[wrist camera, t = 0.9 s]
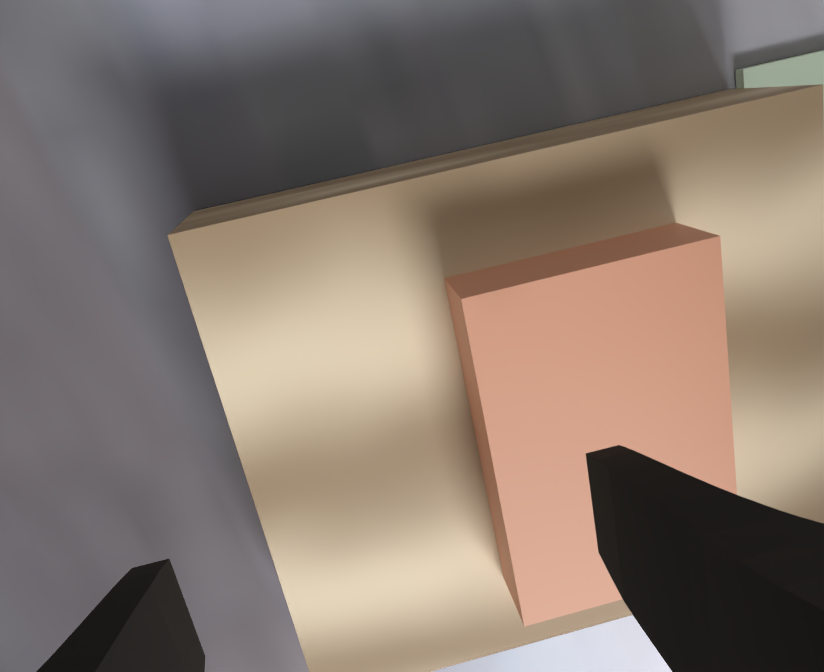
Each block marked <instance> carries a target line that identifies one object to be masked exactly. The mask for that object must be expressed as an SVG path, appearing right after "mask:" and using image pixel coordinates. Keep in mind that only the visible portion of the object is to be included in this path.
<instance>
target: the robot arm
mask: <svg viewBox="0 0 824 672" xmlns="http://www.w3.org/2000/svg"><path fill="white" fill-rule="evenodd" d="M586 461H587V468H588V476H589V484H590V491H591V499H592V507H593V515H594V522H595V530H596V538H597V545H598V552H599V554H600V556H601V558H602V560H603V562H604V564H605V566H606V568H607V570H608V572H609V574H610V576H611V578H612V580H613V582H614V584H615V586H616V588H617V589H618V591H619V593H620V595H621V597H622V599H623V601H624V602H625V604H626V605H627V607H628V608H629V610H630V611H631V613H632V614H633V616H634V617H635V619H636V620H637V621H638V623H639V624H640V626H641V627H642V629H643V630H644V632H645V633H646V635H647V636H648V637H649V639H650V640H651V642H652V643H653V645H654V646H655V647H656V649H657V650H658V652H659V653H660V655H661V656H662V657H663V659H664V660H665V662H666V663H667V665H668V666H669V667H670V669H671V670H672V672H824V523H820V522H817V521H813V520H810V519H806V518H803V517H799V516H796V515H793V514H790V513H787V512H783V511H780V510H777V509H775V508H772V507H769V506H766V505H763V504H761V503H758V502H755V501H752V500H750V499H747V498H744V497H741V496H739V495H736V494H734V493H731V492H729V491H726V490H724V489H721V488H719V487H716V486H714V485H711V484H709V483H707V482H704V481H702V480H700V479H697V478H695V477H693V476H690V475H688V474H686V473H683V472H681V471H679V470H677V469H674V468H672V467H670V466H668V465H665V464H663V463H661V462H659V461H657V460H654V459H652V458H650V457H648V456H645V455H643V454H641V453H638V452H636V451H634V450H631V449H629V448H626V447H624V446H621V445H617V446H613V447H609V448H605V449H601V450H597V451H593V452H589V453H586ZM204 669H205V655H204V652H203V649H202V646H201V644H200V641H199V638H198V636H197V633H196V630H195V627H194V625H193V622H192V619H191V617H190V614H189V611H188V608H187V606H186V603H185V600H184V598H183V595H182V592H181V589H180V587H179V584H178V581H177V579H176V576H175V573H174V570H173V568H172V565H171V562H170V560H169V559H166V560H162V561H158V562H154V563H150V564H146V565H142V566H138V567H134V568H132V569H131V570H130V571H129V572H128V573H127V574H126V575H125V576H124V577H123V578H122V579H121V580H120V581H119V582H118V583H117V584H116V585H115V586H114V587H113V588H112V589H111V591H110V592H109V593H108V594H107V595H106V596H105V597H104V598H103V599H102V601H101V602H100V603H99V604H98V605H97V606H96V607H95V608H94V610H93V611H92V612H91V613H90V614H89V615H88V616H87V617H86V619H85V620H84V621H83V622H82V623H81V624H80V625H79V626H78V627H77V629H76V630H75V631H74V632H73V633H72V634H71V635H70V636H69V637H68V638H67V640H66V641H65V642H64V643H63V644H62V645H61V646H60V647H59V648H58V650H57V651H56V652H55V653H54V654H53V655H52V656H51V657H50V658H49V659H48V660H47V661H46V662H45V663H44V664H43V665H42V666H41V668H40V669H39V670H38V671H37V672H204Z"/></svg>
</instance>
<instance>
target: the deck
mask: <svg viewBox="0 0 824 672" xmlns="http://www.w3.org/2000/svg"><path fill="white" fill-rule="evenodd" d="M672 223H679V224H683V225H686V226H689V227H693V228H696V229H699V230H702V231H706V232H709V233H712V234H716V235H719V236H720V239H721V255H722V270H723V286H724V301H725V317H726V332H727V347H728V363H729V378H730V394H731V409H732V425H733V440H734V455H735V471H736V486H737V495H739V496H741V497H744V498H747V499H750V500H752V501H755V502H758V503H761V504H763V505H766V506H769V507H772V508H775V509H777V510H780V511H783V512H787V513H790V514H793V515H796V516H799V517H803V518H806V519H810V520H813V521H817V522H820V523H824V108H823V84H820V85H800V86H780V87H760V88H739V89H728V90H723V91H719V92H714V93H710V94H706V95H701V96H697V97H693V98H688V99H684V100H679V101H675V102H671V103H666V104H662V105H658V106H653V107H649V108H644V109H640V110H636V111H631V112H627V113H622V114H618V115H614V116H609V117H605V118H601V119H596V120H592V121H587V122H583V123H579V124H574V125H570V126H565V127H561V128H557V129H552V130H548V131H544V132H539V133H535V134H530V135H526V136H522V137H517V138H513V139H509V140H504V141H500V142H495V143H491V144H487V145H482V146H478V147H473V148H469V149H465V150H460V151H456V152H452V153H447V154H443V155H438V156H434V157H430V158H425V159H421V160H416V161H412V162H408V163H403V164H399V165H395V166H390V167H386V168H381V169H377V170H373V171H368V172H364V173H360V174H355V175H351V176H346V177H342V178H338V179H333V180H329V181H324V182H320V183H316V184H311V185H307V186H303V187H298V188H294V189H289V190H285V191H281V192H276V193H272V194H267V195H263V196H259V197H254V198H250V199H246V200H241V201H237V202H232V203H228V204H224V205H219V206H215V207H211V208H206V209H202V210H197V211H193V212H192V213H191V214H190V215H189V216H188V217H187V218H186V219H185V220H183V221H182V222H181V223H180V224H179V225H178V226H177V227H176V228H175V229H174V230H173V231H171V232H170V233H169V234H168V235H167V236H168V239H169V242H170V245H171V248H172V251H173V254H174V257H175V260H176V263H177V266H178V269H179V272H180V275H181V279H182V282H183V285H184V288H185V291H186V294H187V297H188V300H189V303H190V306H191V309H192V312H193V315H194V319H195V322H196V325H197V328H198V331H199V334H200V337H201V340H202V343H203V346H204V349H205V352H206V355H207V358H208V362H209V365H210V368H211V371H212V374H213V377H214V380H215V383H216V386H217V389H218V392H219V395H220V398H221V402H222V405H223V408H224V411H225V414H226V417H227V420H228V423H229V426H230V429H231V432H232V435H233V438H234V441H235V445H236V448H237V451H238V454H239V457H240V460H241V463H242V466H243V469H244V472H245V475H246V478H247V481H248V485H249V488H250V491H251V494H252V497H253V500H254V503H255V506H256V509H257V512H258V515H259V518H260V521H261V525H262V528H263V531H264V534H265V537H266V540H267V543H268V546H269V549H270V552H271V555H272V558H273V561H274V564H275V568H276V571H277V574H278V577H279V580H280V583H281V586H282V589H283V592H284V595H285V598H286V601H287V604H288V608H289V611H290V614H291V617H292V620H293V623H294V626H295V629H296V632H297V635H298V638H299V641H300V644H301V647H302V651H303V654H304V657H305V660H306V663H307V666H308V669H309V672H431V671H434V670H438V669H441V668H445V667H448V666H452V665H456V664H459V663H463V662H466V661H470V660H473V659H477V658H481V657H484V656H488V655H491V654H495V653H498V652H502V651H505V650H509V649H513V648H516V647H520V646H523V645H527V644H530V643H534V642H537V641H541V640H545V639H548V638H552V637H555V636H559V635H562V634H566V633H570V632H573V631H577V630H580V629H584V628H587V627H591V626H594V625H598V624H602V623H605V622H609V621H612V620H616V619H619V618H623V617H626V616H630V615H633V614H632V613H631V611H630V610H629V608H628V607H627V605H626V604H625V602H624V601H623V599H622V600H618V601H615V602H611V603H607V604H604V605H600V606H597V607H593V608H589V609H586V610H582V611H579V612H575V613H572V614H568V615H564V616H561V617H557V618H554V619H550V620H546V621H543V622H539V623H536V624H532V625H529V626H525V627H524V625H523V622H522V620H521V618H520V615H519V613H518V611H517V608H516V606H515V604H514V601H513V599H512V597H511V594H510V592H509V590H508V587H507V585H506V582H505V580H504V577H503V572H502V567H501V562H500V557H499V552H498V547H497V542H496V537H495V532H494V527H493V522H492V517H491V512H490V507H489V501H488V496H487V491H486V486H485V481H484V476H483V471H482V466H481V461H480V456H479V451H478V446H477V441H476V436H475V431H474V426H473V421H472V416H471V411H470V406H469V401H468V396H467V391H466V386H465V381H464V376H463V371H462V366H461V361H460V356H459V351H458V346H457V341H456V336H455V331H454V326H453V321H452V316H451V310H450V305H449V300H448V295H447V290H446V285H445V280H444V278H448V277H452V276H456V275H460V274H465V273H469V272H473V271H477V270H481V269H485V268H489V267H494V266H498V265H502V264H506V263H510V262H514V261H518V260H523V259H527V258H531V257H535V256H539V255H543V254H548V253H552V252H556V251H560V250H564V249H568V248H572V247H577V246H581V245H585V244H589V243H593V242H597V241H601V240H606V239H610V238H614V237H618V236H622V235H626V234H631V233H635V232H639V231H643V230H647V229H651V228H655V227H660V226H664V225H668V224H672Z"/></svg>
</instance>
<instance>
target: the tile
mask: <svg viewBox="0 0 824 672" xmlns="http://www.w3.org/2000/svg"><path fill="white" fill-rule="evenodd" d="M444 280H445V285H446V290H447V295H448V300H449V305H450V310H451V316H452V321H453V326H454V331H455V336H456V341H457V346H458V351H459V356H460V361H461V366H462V371H463V376H464V381H465V386H466V391H467V396H468V401H469V406H470V411H471V416H472V421H473V426H474V431H475V436H476V441H477V446H478V451H479V456H480V461H481V466H482V471H483V476H484V481H485V486H486V491H487V496H488V501H489V507H490V512H491V517H492V522H493V527H494V532H495V537H496V542H497V547H498V552H499V557H500V562H501V567H502V572H503V577H504V580H505V582H506V585H507V587H508V590H509V592H510V594H511V597H512V599H513V601H514V604H515V606H516V608H517V611H518V613H519V615H520V618H521V620H522V622H523V625H524V627H525V626H529V625H532V624H536V623H539V622H543V621H546V620H550V619H554V618H557V617H561V616H564V615H568V614H572V613H575V612H579V611H582V610H586V609H589V608H593V607H597V606H600V605H604V604H607V603H611V602H615V601H618V600H622V597H621V595H620V593H619V591H618V589H617V588H616V586H615V584H614V582H613V580H612V578H611V576H610V574H609V572H608V570H607V568H606V566H605V564H604V562H603V560H602V558H601V556H600V554H599V552H598V545H597V538H596V530H595V522H594V515H593V507H592V499H591V491H590V484H589V476H588V468H587V461H586V453H589V452H593V451H597V450H601V449H605V448H609V447H613V446H617V445H621V446H624V447H626V448H629V449H631V450H634V451H636V452H638V453H641V454H643V455H645V456H648V457H650V458H652V459H654V460H657V461H659V462H661V463H663V464H665V465H668V466H670V467H672V468H674V469H677V470H679V471H681V472H683V473H686V474H688V475H690V476H693V477H695V478H697V479H700V480H702V481H704V482H707V483H709V484H711V485H714V486H716V487H719V488H721V489H724V490H726V491H729V492H731V493H734V494H736V495H737V486H736V471H735V455H734V440H733V425H732V409H731V394H730V378H729V363H728V347H727V332H726V317H725V301H724V286H723V270H722V255H721V239H720V236H719V235H716V234H712V233H709V232H706V231H702V230H699V229H696V228H693V227H689V226H686V225H683V224H679V223H672V224H668V225H664V226H660V227H655V228H651V229H647V230H643V231H639V232H635V233H631V234H626V235H622V236H618V237H614V238H610V239H606V240H601V241H597V242H593V243H589V244H585V245H581V246H577V247H572V248H568V249H564V250H560V251H556V252H552V253H548V254H543V255H539V256H535V257H531V258H527V259H523V260H518V261H514V262H510V263H506V264H502V265H498V266H494V267H489V268H485V269H481V270H477V271H473V272H469V273H465V274H460V275H456V276H452V277H448V278H444Z"/></svg>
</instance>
